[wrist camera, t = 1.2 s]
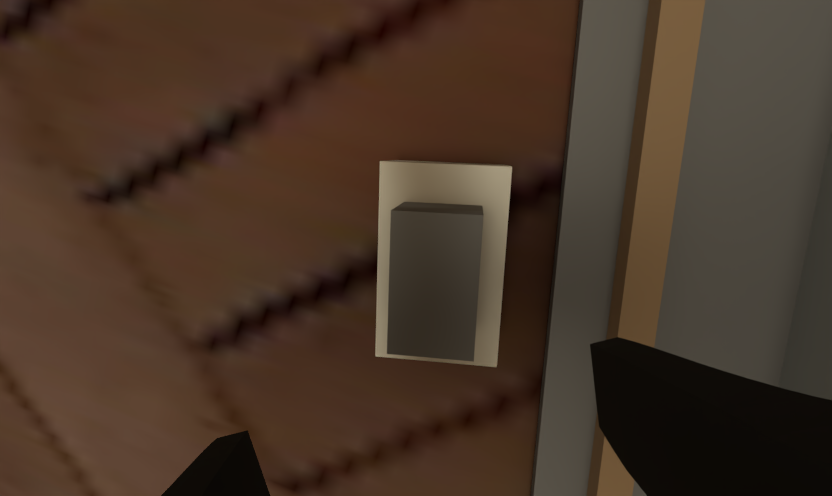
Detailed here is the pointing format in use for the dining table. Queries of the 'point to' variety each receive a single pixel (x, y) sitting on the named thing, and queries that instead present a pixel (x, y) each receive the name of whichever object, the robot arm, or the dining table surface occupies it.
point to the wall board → (689, 209)
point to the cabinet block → (441, 260)
